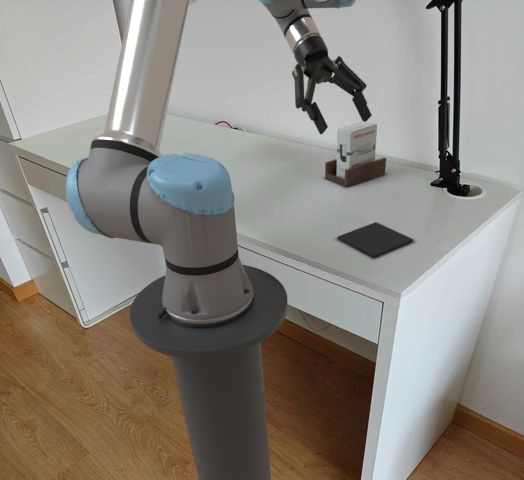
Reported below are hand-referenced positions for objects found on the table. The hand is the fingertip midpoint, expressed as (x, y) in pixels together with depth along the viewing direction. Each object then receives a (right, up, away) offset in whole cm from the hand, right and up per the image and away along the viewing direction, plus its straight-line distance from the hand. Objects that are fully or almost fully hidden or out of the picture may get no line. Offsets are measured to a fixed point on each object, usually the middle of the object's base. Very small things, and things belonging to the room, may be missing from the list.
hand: (346, 124), depth 118 cm
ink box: (+3, -11, +4) cm, 12 cm away
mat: (+2, -32, -22) cm, 39 cm away
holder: (+3, -11, +4) cm, 12 cm away
